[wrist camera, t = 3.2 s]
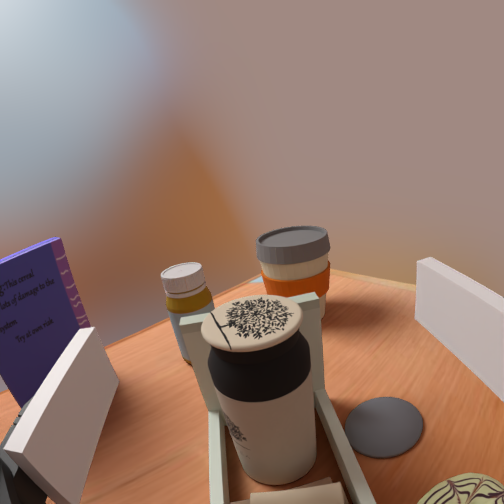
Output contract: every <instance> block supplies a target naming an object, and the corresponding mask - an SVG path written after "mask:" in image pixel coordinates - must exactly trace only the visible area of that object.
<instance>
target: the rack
mask: <svg viewBox="0 0 504 504" xmlns="http://www.w3.org/2000/svg"><path fill="white" fill-rule="evenodd" d="M288 299H291V300H293V301H294V302H296V303H297V304H298V305H299V306H300V307H301V309H302V311H303V321H302V324H301V326H300V328H299V331H300V332H301V334H302V335H303V336H304V337H305V339H306V340H307V341H308V344H309V347H310V358H311V370H312V384H313V398H314V408H316V410H317V412H318V415H319V417H320V420H321V423H322V425H323V428H324V430H325V433H326V435H327V438H328V441H329V443H330V446H331V448H332V451H333V453H334V456H335V459H336V461H337V464H338V466H339V469H340V471H341V474H342V477H343V479H344V482H345V484H346V487H347V489H348V492H349V495H350V497H351V500H352V502H353V504H376V502H375V500H374V497H373V495H372V493H371V490H370V488H369V486H368V484H367V481H366V479H365V477H364V475H363V472H362V470H361V468H360V466H359V464H358V461H357V459H356V457H355V455H354V452H353V450H352V448H351V446H350V443H349V441H348V439H347V437H346V435H345V432H344V430H343V428H342V426H341V423H340V421H339V419H338V417H337V415H336V412H335V410H334V408H333V406H332V404H331V401H330V399H329V397H328V395H327V393H326V390H325V384H324V363H323V345H322V330H321V316H320V303H319V298H318V296H317V295H316V293H315V292H312V293H307V294H302V295H298V296H293V297H288ZM208 314H209V313H205V314H199V315H193V316H187V317H181V319H180V324H179V326H180V329H181V333H182V336H183V339H184V342H185V345H186V348H187V351H188V354H189V358H190V361H191V364H192V366H193V369H194V372H195V375H196V378H197V381H198V384H199V387H200V389H201V392H202V395H203V398H204V400H205V403H206V406H207V409H208V411H209V483H210V504H230V499H229V486H228V473H227V459H226V444H225V427H224V426H227V423H226V420H225V417H224V414H223V411H222V408H221V405H220V402H219V399H218V396H217V393H216V390H215V387H214V384H213V381H212V378H211V375H210V371H209V368H208V357H209V353H210V350H211V346H210V344H209V343H208V342H206V340H205V339H204V338H203V336H202V333H201V326H202V323H203V321H204V319H205V318H206V316H207V315H208Z"/></svg>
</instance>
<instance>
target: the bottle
mask: <svg viewBox="0 0 504 504" xmlns="http://www.w3.org/2000/svg"><path fill="white" fill-rule="evenodd" d="M161 279H162V283H163V286H164V289H165V292H166V296H167V299H166V300H167V301H166V306H167V310H168V313H169V317H170V320H171V323H172V326H173V329H174V333H175V336H176V339H177V342H178V345H179V348H180V351H181V354H182V356H183V359H184V360H185V361H186V362H188V363H190V364H191V361H190V358H189V354H188V351H187V348H186V345H185V342H184V339H183V336H182V333H181V329H180V326H179V324H180V319H181V317H187V316H193V315H199V314H205V313H210V312H211V311H213V310H214V309H215V307H214V303H213V299H212V296H211V292H210V291H209V289H208V288H207V286H206V282H205V277H204V274H203V269H202V266H201V264H199V263H194V262H190V263H182V264H179V265H175V266H172V267H170V268H168V269H166V270H164V271H163V272H162V273H161Z"/></svg>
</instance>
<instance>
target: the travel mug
mask: <svg viewBox="0 0 504 504" xmlns="http://www.w3.org/2000/svg"><path fill="white" fill-rule="evenodd" d="M302 321H303V311H302V309H301V307H300V306H299V305H298V304H297V303H296V302H294V301H293V300H291V299H288V298H285V297H282V296H276V295H254V296H248V297H243V298H239V299H235V300H232V301H230V302H227V303H225V304H223V305H221V306H219V307H217V308H216V309H214V310H213V311H211V312H210V313H209V314H208V315H207V316H206V318H205V319H204V321H203V323H202V326H201V333H202V336H203V338H204V339H205V340H206V342H208V343H209V344H210V346H211V350H210V353H209V357H208V368H209V371H210V375H211V378H212V381H213V384H214V387H215V390H216V393H217V396H218V399H219V402H220V405H221V408H222V411H223V414H224V417H225V420H226V423H227V426H228V429H229V431H230V434H231V437H232V440H233V443H234V445H235V448H236V451H237V453H238V456H239V459H240V461H241V464H242V467H243V469H244V471H245V472H246V473H247V474H248V475H249V476H250V477H251V478H252V479H254V480H256V481H258V482H260V483H264V484H269V485H282V484H287V483H290V482H293V481H296V480H298V479H300V478H301V477H303V476H304V475H305V474H306V473H308V472H309V470H310V469H311V468H312V466H313V465H314V463H315V460H316V455H317V452H316V431H315V413H314V398H313V384H312V370H311V358H310V347H309V344H308V341H307V340H306V339H305V337H304V336H303V335H302V334H301V332H300V331H299V328H300V326H301V324H302Z"/></svg>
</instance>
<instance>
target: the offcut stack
mask: <svg viewBox="0 0 504 504" xmlns="http://www.w3.org/2000/svg"><path fill="white" fill-rule="evenodd" d="M230 504H349V503H348V500H347V498H346V495H345V493H344V490H343V487H342V485H341V482H337V483H333V482H332V480H331V478H330V477H327V478H324V479H321V480H318V481H315V482H312V483H309V484H306V485H302V486H299V487H295V488H292V489H288V490H284V491H273V492H260V493H250V499H247V500H242V501H237V502H231V503H230Z"/></svg>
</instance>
